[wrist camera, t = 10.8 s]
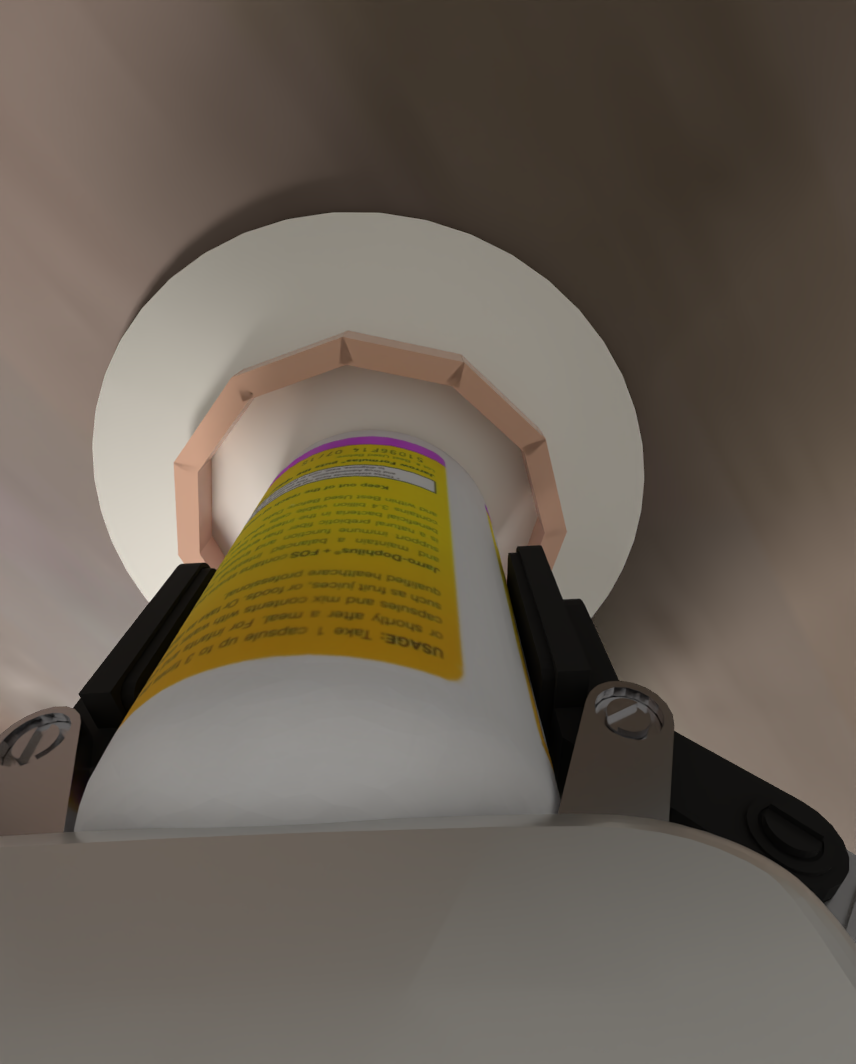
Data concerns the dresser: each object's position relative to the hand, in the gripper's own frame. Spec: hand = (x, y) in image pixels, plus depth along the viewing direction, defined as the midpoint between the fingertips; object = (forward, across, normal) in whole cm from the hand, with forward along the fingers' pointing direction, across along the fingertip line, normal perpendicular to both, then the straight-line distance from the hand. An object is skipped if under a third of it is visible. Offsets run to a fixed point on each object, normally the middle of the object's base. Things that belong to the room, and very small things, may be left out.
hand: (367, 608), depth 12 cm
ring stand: (+4, 0, 0) cm, 4 cm away
